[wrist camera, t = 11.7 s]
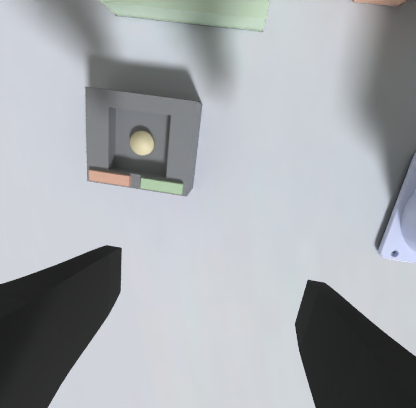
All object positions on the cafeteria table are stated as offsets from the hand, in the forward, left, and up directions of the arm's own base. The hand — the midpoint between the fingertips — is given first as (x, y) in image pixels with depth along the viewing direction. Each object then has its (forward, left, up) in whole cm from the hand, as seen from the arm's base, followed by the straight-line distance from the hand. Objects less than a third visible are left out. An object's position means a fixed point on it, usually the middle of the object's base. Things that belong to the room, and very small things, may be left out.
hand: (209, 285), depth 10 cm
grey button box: (+6, -4, -10) cm, 13 cm away
